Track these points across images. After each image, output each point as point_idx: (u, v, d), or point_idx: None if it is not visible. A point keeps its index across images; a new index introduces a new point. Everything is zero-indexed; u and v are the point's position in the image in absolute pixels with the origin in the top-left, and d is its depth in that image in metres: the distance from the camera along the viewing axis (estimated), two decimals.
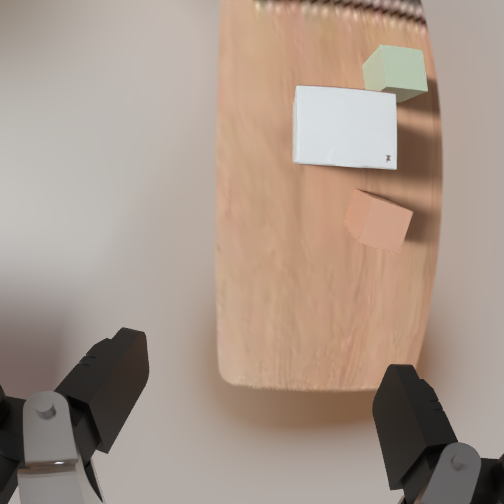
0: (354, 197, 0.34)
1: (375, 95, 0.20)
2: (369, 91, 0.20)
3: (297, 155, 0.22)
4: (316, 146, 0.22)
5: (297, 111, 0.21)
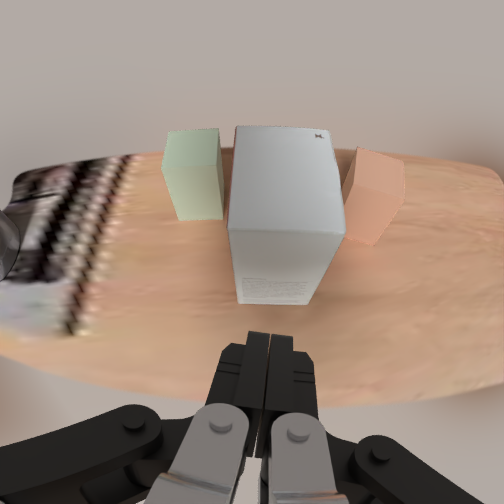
0: None
1: (240, 143, 0.18)
2: (235, 149, 0.18)
3: (335, 232, 0.15)
4: (319, 207, 0.16)
5: (269, 229, 0.16)
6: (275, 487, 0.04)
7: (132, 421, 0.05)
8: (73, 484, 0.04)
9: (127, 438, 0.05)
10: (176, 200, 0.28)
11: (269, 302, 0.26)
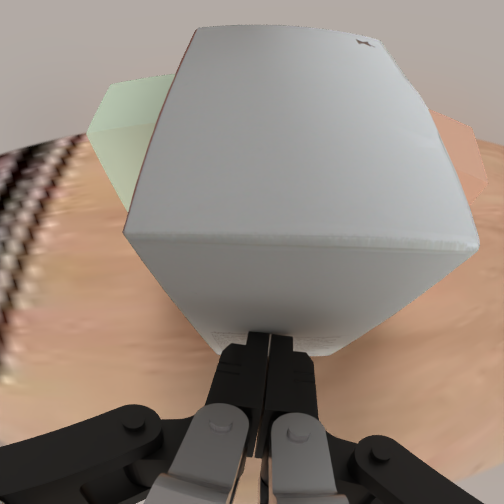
0: None
1: (199, 47, 0.07)
2: (186, 56, 0.07)
3: (458, 243, 0.04)
4: (408, 172, 0.05)
5: (260, 236, 0.04)
6: (275, 487, 0.04)
7: (133, 421, 0.05)
8: (73, 484, 0.04)
9: (127, 438, 0.05)
10: (120, 188, 0.17)
11: None
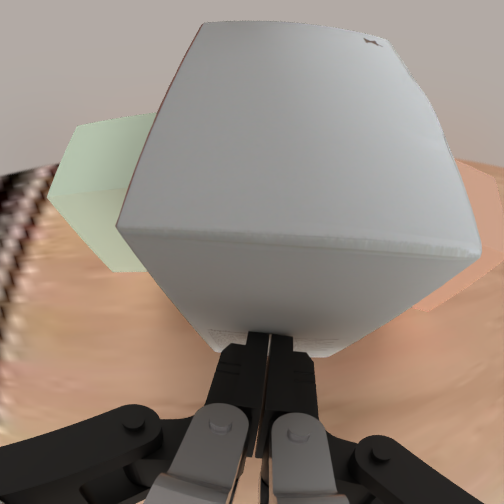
0: None
1: (204, 42, 0.07)
2: (190, 50, 0.07)
3: (460, 249, 0.04)
4: (410, 173, 0.05)
5: (253, 235, 0.04)
6: (275, 487, 0.04)
7: (132, 421, 0.05)
8: (73, 484, 0.04)
9: (127, 438, 0.05)
10: (95, 246, 0.15)
11: None
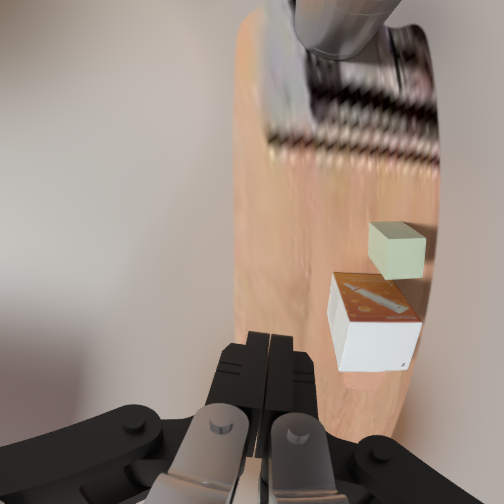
0: None
1: (407, 325, 0.27)
2: (403, 323, 0.27)
3: (340, 367, 0.29)
4: (354, 362, 0.29)
5: (346, 340, 0.28)
6: (275, 487, 0.04)
7: (133, 421, 0.05)
8: (73, 484, 0.04)
9: (127, 438, 0.05)
10: (376, 232, 0.34)
11: (330, 293, 0.40)
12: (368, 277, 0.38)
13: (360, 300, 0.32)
